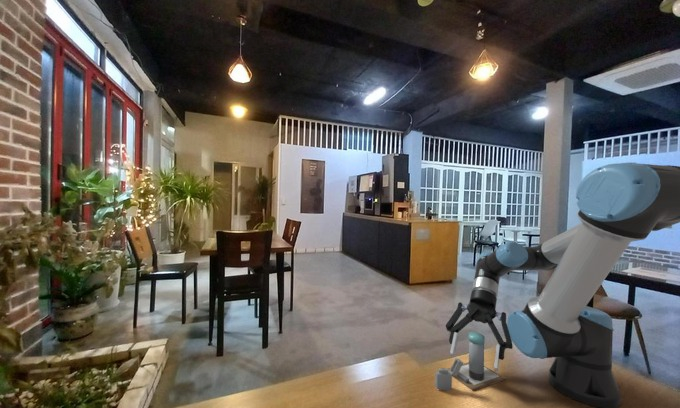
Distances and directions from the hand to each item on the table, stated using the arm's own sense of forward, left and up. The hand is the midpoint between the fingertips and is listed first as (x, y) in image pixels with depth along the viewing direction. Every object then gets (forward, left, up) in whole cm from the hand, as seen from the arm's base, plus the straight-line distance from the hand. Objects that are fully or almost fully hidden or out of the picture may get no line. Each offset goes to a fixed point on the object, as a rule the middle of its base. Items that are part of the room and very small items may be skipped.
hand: (472, 362), depth 80 cm
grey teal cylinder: (+1, -3, -5) cm, 6 cm away
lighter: (+1, +8, -6) cm, 10 cm away
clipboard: (+3, -4, -6) cm, 8 cm away
